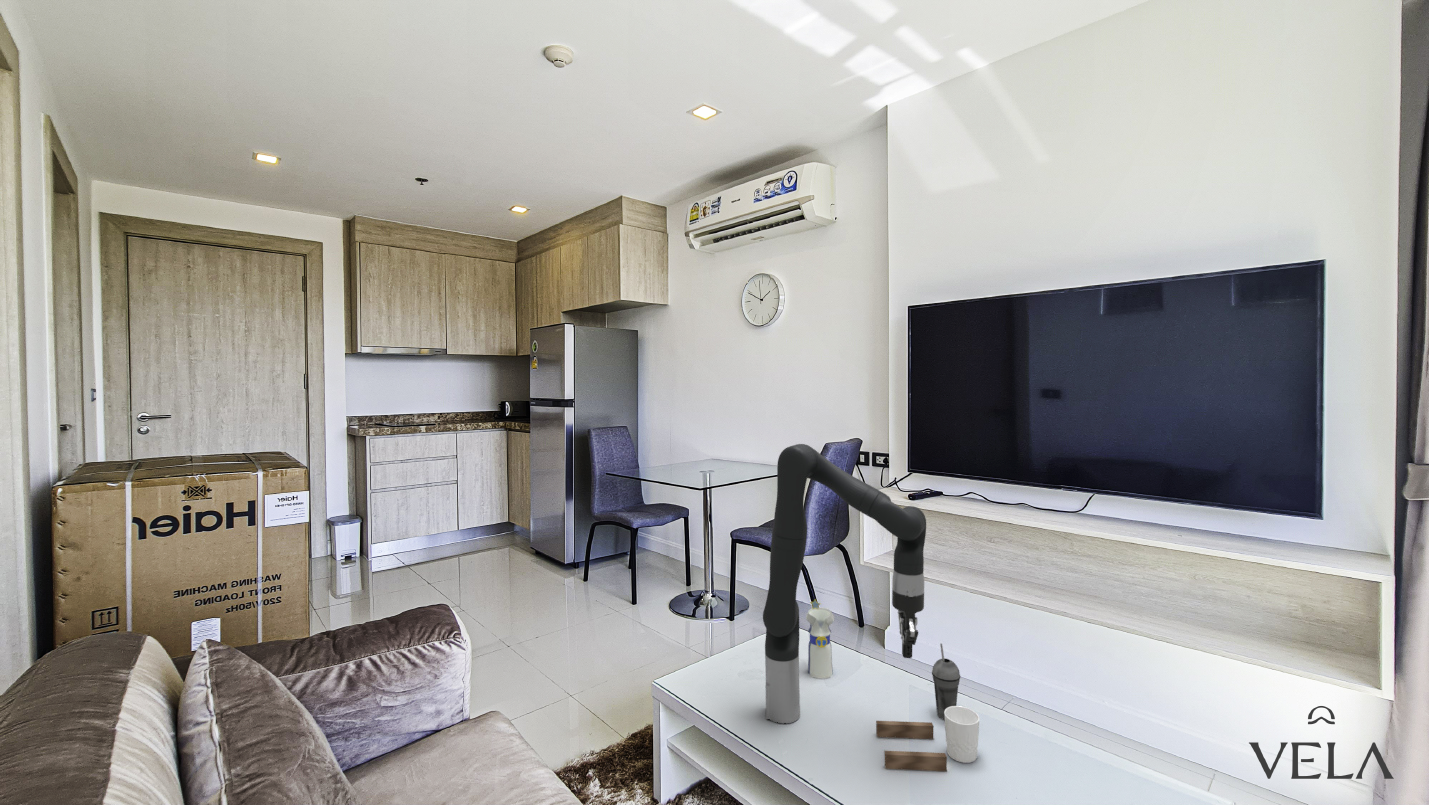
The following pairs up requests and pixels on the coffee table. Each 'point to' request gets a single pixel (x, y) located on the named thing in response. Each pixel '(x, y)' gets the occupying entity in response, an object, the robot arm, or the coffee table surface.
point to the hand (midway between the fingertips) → (907, 656)
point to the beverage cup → (945, 684)
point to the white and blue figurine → (819, 642)
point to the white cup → (961, 733)
